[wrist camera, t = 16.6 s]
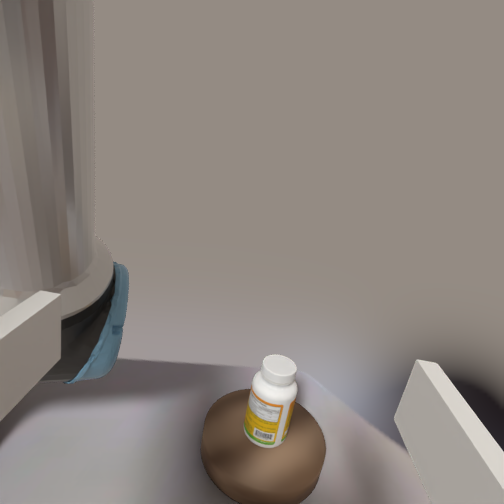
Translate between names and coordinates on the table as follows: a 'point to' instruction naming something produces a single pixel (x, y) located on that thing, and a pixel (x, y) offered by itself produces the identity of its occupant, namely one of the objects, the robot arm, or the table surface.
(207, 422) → the walnut base
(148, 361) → the table surface
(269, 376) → the supplement bottle
